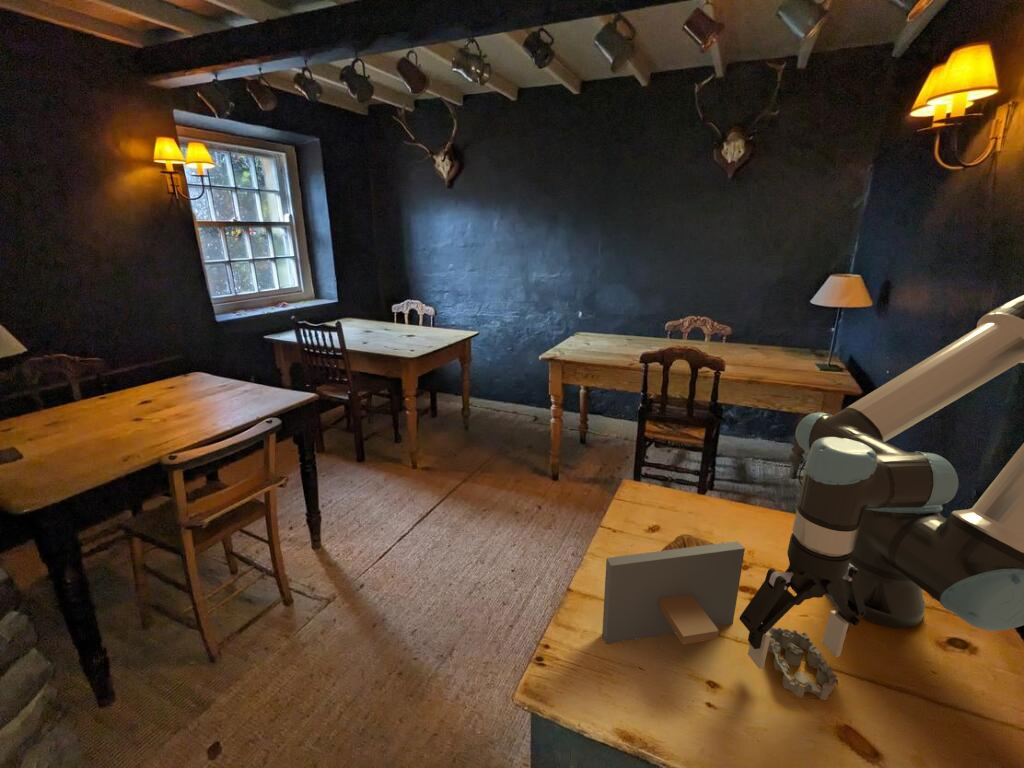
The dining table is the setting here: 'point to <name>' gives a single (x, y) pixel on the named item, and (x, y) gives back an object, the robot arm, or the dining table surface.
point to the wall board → (672, 593)
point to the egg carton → (794, 658)
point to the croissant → (686, 542)
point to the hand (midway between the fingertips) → (793, 655)
